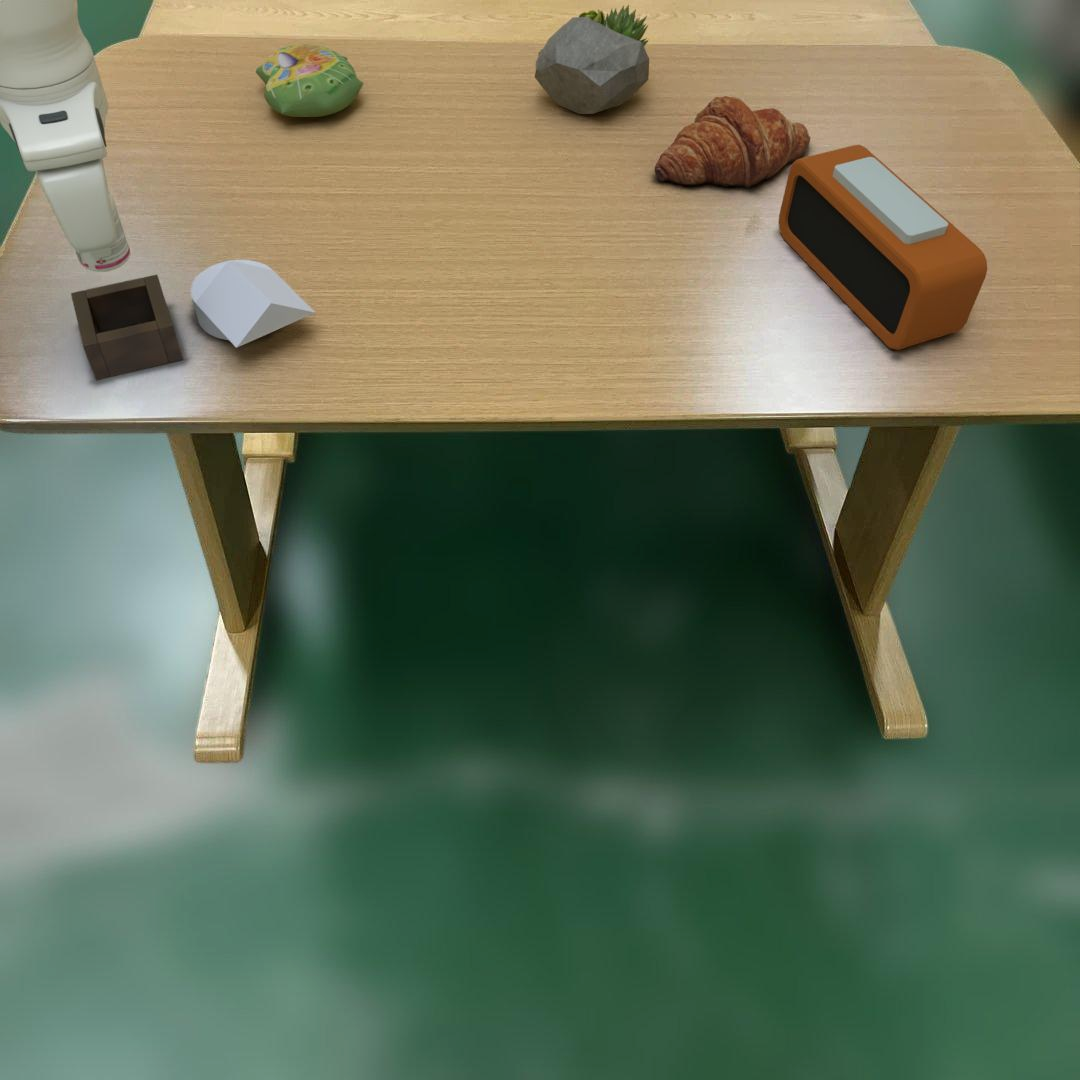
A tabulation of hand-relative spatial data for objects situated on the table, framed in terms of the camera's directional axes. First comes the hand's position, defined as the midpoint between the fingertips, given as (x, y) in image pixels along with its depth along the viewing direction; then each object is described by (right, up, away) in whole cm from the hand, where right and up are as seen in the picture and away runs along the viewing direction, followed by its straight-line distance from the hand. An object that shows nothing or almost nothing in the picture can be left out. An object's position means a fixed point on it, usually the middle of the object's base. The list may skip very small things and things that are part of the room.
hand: (96, 234), depth 103 cm
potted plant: (+49, +30, +43) cm, 72 cm away
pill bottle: (0, -2, +2) cm, 3 cm away
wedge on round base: (+11, -6, +13) cm, 18 cm away
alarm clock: (+77, 0, +20) cm, 80 cm away
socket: (0, -8, +10) cm, 13 cm away
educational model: (+12, +29, +41) cm, 51 cm away
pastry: (+65, +18, +34) cm, 76 cm away
